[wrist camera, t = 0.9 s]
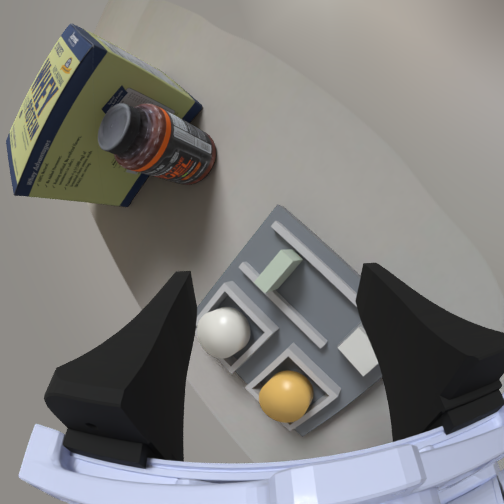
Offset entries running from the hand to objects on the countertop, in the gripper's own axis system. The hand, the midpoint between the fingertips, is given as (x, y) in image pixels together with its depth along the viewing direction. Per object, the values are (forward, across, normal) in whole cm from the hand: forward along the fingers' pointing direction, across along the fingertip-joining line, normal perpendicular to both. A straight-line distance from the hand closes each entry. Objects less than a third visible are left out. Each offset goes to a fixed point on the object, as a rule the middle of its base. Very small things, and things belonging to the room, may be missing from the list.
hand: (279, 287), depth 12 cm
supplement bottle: (+21, +6, -1) cm, 22 cm away
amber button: (+4, -2, +14) cm, 15 cm away
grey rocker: (+4, -7, +10) cm, 13 cm away
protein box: (+26, +14, -3) cm, 30 cm away
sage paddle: (+10, -2, +6) cm, 12 cm away
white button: (+8, +3, +11) cm, 14 cm away
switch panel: (+8, -3, +11) cm, 14 cm away
